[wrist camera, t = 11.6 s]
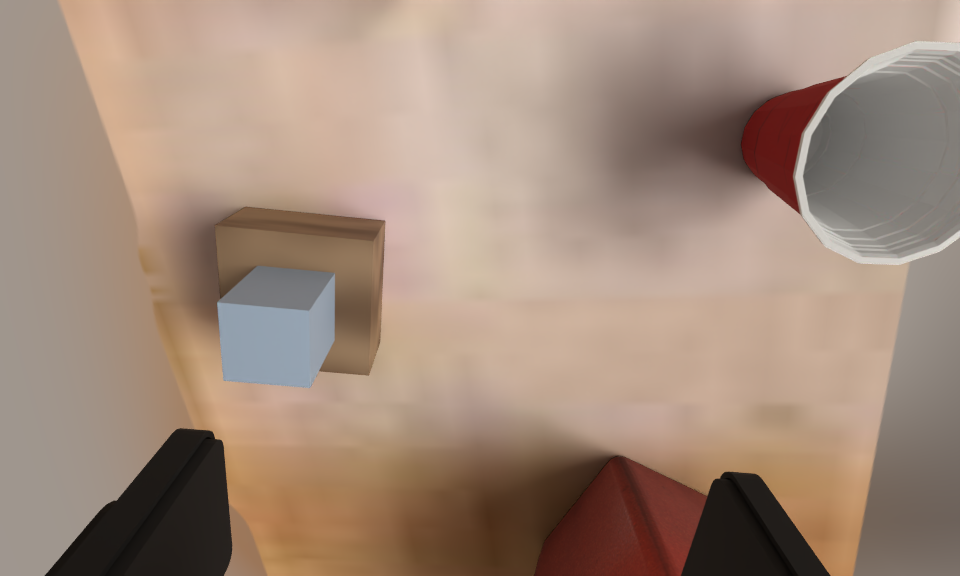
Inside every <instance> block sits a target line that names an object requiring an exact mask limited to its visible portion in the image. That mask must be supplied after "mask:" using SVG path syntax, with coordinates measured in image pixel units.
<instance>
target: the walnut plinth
mask: <svg viewBox="0 0 960 576" xmlns="http://www.w3.org/2000/svg"><path fill="white" fill-rule="evenodd" d="M215 236H216V249H217V261H218V274H219V287H220V299H221V298H222V297H224V296H225V295H226V294H227V293H228V292H229V291H230V290H231V289H232V288H234V287H235V286H236V285H237V284H238V283H239V282H240V281H241V280H242V279H243V278H245V277H246V276H247V275H248V274H249V273H250V272H251V271H252V270H253V269H254V268H256V267H257V266H267V267H277V268H288V269H299V270H309V271H320V272H330V273H335V340H334V342H333V344H332V346H331V348H330V350H329V352H328V354H327V356H326V358H325V360H324V362H323V364H322V366H321V368H320V370H319V371H323V372H334V373H346V374H358V375H369V373H370V371H371V368H372V365H373V362H374V359H375V356H376V353H377V350H378V347H379V344H380V332H381V309H382V285H383V262H384V238H385V221H381V220H371V219H361V218H351V217H341V216H331V215H321V214H311V213H301V212H291V211H281V210H271V209H261V208H251V207H245V208H243V209H241V210H240V211H238V212H236V213H235V214H233V215H231V216H230V217H228V218H226V219H225V220H223V221H221V222H220V223H218V224H216V225H215Z"/></svg>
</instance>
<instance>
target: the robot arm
mask: <svg viewBox="0 0 960 576" xmlns="http://www.w3.org/2000/svg"><path fill="white" fill-rule="evenodd" d="M231 554H232V538H231V527H230V515H229V504H228V492H227V480H226V469H225V457H224V446H223V442H222V440H217V439H215V437H214V434H213V432H212V431H207V430H194V429H181V428H180V429H177V430H175V431H174V432H173V433H172V434H171V436H170V437H169V438H168V439H167V441H166V442H165V443H164V444H163V446H162V447H161V448H160V449H159V450H158V451H157V453H156V454H155V455H154V456H153V457H152V459H151V460H150V461H149V462H148V463H147V465H146V466H145V467H144V468H143V470H142V471H141V472H140V473H139V474H138V476H137V477H136V478H135V479H134V480H133V482H132V483H131V484H130V485H129V487H128V488H127V489H126V490H125V491H124V493H123V494H122V495H121V496H120V497H119V499H118V500H117V501H112V502H110V503H108V504H107V505H105V507H103V508H102V509H101V510H100V511H99V513H98V514H97V515H96V516H95V517H94V518H93V519H92V521H91V522H90V523H89V524H88V525H87V526H86V528H85V529H84V530H83V531H82V533H81V534H80V535H79V536H78V537H77V538H76V539H75V541H74V542H73V543H72V544H71V545H70V547H69V548H68V549H67V550H66V551H65V552H64V554H63V555H62V556H61V557H60V559H59V560H58V561H57V562H56V563H55V564H54V565H53V567H52V568H51V569H50V570H49V572H48V573H47V574H46V575H45V576H224V574H225V572H226V570H227V568H228V565H229V562H230V559H231ZM681 576H830V574H829V573H828V572H827V570H826V569H825V567H824V566H823V565H822V563H821V562H820V560H819V559H818V558H817V556H816V555H815V553H814V552H813V550H812V549H811V548H810V546H809V545H808V543H807V542H806V541H805V539H804V538H803V536H802V535H801V533H800V532H799V531H798V529H797V528H796V526H795V525H794V524H793V522H792V521H791V519H790V518H789V517H788V515H787V514H786V512H785V511H784V509H783V508H782V507H781V505H780V504H779V502H778V501H777V500H776V498H775V497H774V495H773V494H772V492H771V491H770V490H769V488H768V487H767V485H766V484H765V483H764V481H763V480H762V479H761V478H760V477H759V476H758V475H756V474H751V473H738V472H724V473H723V474H722V476H721V478H720V479H715V480H714V481H713V483H712V485H711V488H710V491H709V494H708V496H707V499H706V502H705V505H704V508H703V511H702V514H701V517H700V520H699V523H698V526H697V529H696V532H695V535H694V538H693V541H692V544H691V547H690V550H689V553H688V556H687V559H686V562H685V564H684V567H683V570H682V573H681Z"/></svg>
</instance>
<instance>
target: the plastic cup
mask: <svg viewBox="0 0 960 576" xmlns="http://www.w3.org/2000/svg"><path fill="white" fill-rule="evenodd" d="M741 147H742V152H743V158H744V160H745V163H746V164H747V165H748V167H749V168H750V169H751V171H752V172H753V174H754V175H755V176H756V177H758V178H759V179H760V180H761V181H763V182H764V183H765V184H766V186H767V187H768V188H769V189H770V190H771V191H772V192H773V193H775V194H776V195H777V196H778V197H780V198H781V199H782V200H783V201H784V202H786V203H787V204H788V205H789V206H791V207H792V208H793V209H794V210H796V211H797V212H798V213H799V214H800V215H801V216H802V218H803V219H804V220H805V222H806V223H807V224H808V226H809V227H810V228H811V230H812V231H813V232H814V234H815V235H816V236H817V238H818V239H819V240H820V242H821V243H822V244H823V245H824V246H825V247H827V248H829V249H831V250H833V251H835V252H837V253H839V254H841V255H843V256H845V257H847V258H849V259H851V260H853V261H855V262H857V263H862V264H888V265H900V264H903V263H906V262H909V261H912V260H915V259H918V258H921V257H924V256H928V255H930V254H933V253H936V252H940V251H942V250H943V249H944V248H946V247H947V246H948V245H950V244H951V243H953V242H954V241H955V240H957V239H958V238H959V237H960V43H951V42H927V41H915V42H912V43H909V44H907V45H904V46H901V47H899V48H896V49H893V50H891V51H888V52H885V53H882V54H880V55H877V56H874V57H872V58H869V59H868V60H866V61H865V62H863V63H862V64H861V65H860V66H859V67H857V68H856V69H855V70H854V71H853V72H851V73H850V74H849V75H848V76H845V77H842V78H838V79H834V80H830V81H827V82H823V83H819V84H816V85H813V86H810V87H807V88H804V89H801V90H796V91H792V92H788V93H786V94H783V95H780V96H777V97H775V98H772V99H771V100H769V101H767V102H766V103H765V104H764V105H762V106H761V107H760V108H759V109H758V110H756V111H755V112H754V113H753V115H752V116H751V118H750V120H749V121H748V123H747V125H746V126H745V128H744V133H743V137H742V142H741Z"/></svg>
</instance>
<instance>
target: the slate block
mask: <svg viewBox="0 0 960 576" xmlns="http://www.w3.org/2000/svg"><path fill="white" fill-rule="evenodd" d="M217 308H218V320H219V332H220V344H221V356H222V368H223V380H224V381H233V382H245V383H257V384H269V385H281V386H293V387H305V388H310V387H311V385H312V383H313V381H314V379H315V378H316V376H317V374H318V372H319V370H320V368H321V366H322V364H323V362H324V360H325V358H326V356H327V354H328V352H329V350H330V348H331V346H332V344H333V342H334V340H335V273H330V272H320V271H309V270H299V269H288V268H277V267H267V266H257V267H256V268H254V269H253V270H252V271H251V272H250V273H249V274H248V275H247V276H246V277H245V278H243V279H242V280H241V281H240V282H239V283H238V284H237V285H236V286H235V287H234V288H232V289H231V290H230V291H229V292H228V293H227V294H226V295H225V296H224V297H222V298H221V299H220V300H219V301H218V302H217Z"/></svg>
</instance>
